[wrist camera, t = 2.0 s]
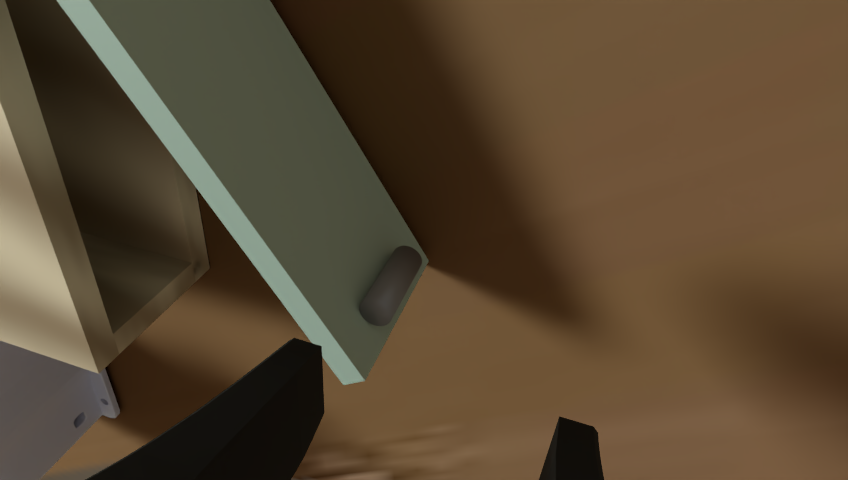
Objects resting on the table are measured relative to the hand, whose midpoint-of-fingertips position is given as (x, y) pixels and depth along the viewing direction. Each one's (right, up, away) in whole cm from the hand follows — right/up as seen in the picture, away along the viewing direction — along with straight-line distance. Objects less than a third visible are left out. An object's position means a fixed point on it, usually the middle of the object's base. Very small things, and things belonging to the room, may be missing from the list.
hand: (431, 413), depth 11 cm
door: (-4, +9, +7) cm, 12 cm away
